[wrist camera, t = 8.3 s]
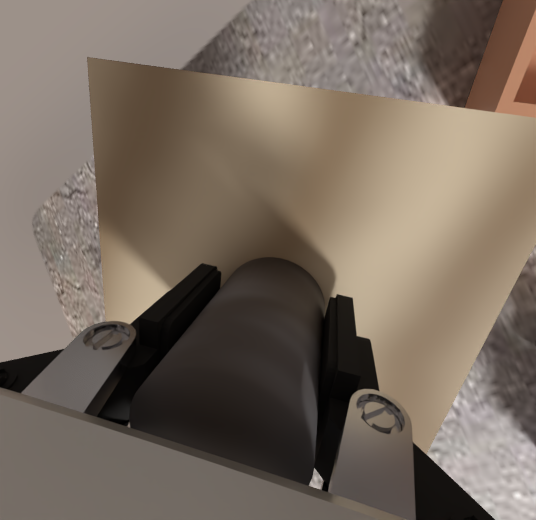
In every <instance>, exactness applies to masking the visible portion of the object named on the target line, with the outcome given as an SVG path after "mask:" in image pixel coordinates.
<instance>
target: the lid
mask: <svg viewBox="0 0 536 520" xmlns="http://www.w3.org/2000/svg"><path fill="white" fill-rule="evenodd" d="M87 62H88V76H89V90H90V103H91V118H92V133H93V147H94V161H95V176H96V190H97V204H98V218H99V233H100V247H101V261H102V276H103V290H104V304H105V318H106V322H107V321H121V322H125V323H128V324H131V323H132V322H133V321H134V320H135V319H136V318H138V317H139V316H140V315H141V314H142V313H143V312H145V311H146V310H147V309H148V308H149V307H150V306H152V305H153V304H154V303H155V302H156V301H157V300H159V299H160V298H161V297H162V296H163V295H164V294H165V293H167V292H168V291H170V290H171V289H172V288H174V287H175V286H176V285H177V284H178V283H179V282H181V281H182V280H183V279H184V278H185V277H186V276H187V275H189V274H190V273H191V272H192V271H193V270H194V269H196V268H197V267H198V266H199V265H200V264H202V263H204V264H208V265H212V266H217V270H218V271H221V285H220V289H219V291H218V292H217V293H216V294H215V296H214V297H213V298H212V299H211V301H210V302H209V303H208V304H207V305H206V307H205V308H204V309H203V310H202V312H201V313H200V314H199V315H198V316H197V318H196V319H195V320H194V321H193V323H192V324H191V325H190V326H189V327H188V329H187V330H186V331H185V332H184V334H183V335H182V336H181V337H180V338H179V340H178V341H177V342H176V343H175V345H174V346H173V347H172V348H171V349H170V351H169V352H168V353H167V354H166V356H165V357H164V358H163V359H162V360H161V362H160V363H159V364H158V365H157V367H156V368H155V369H154V370H153V372H152V373H151V374H150V375H149V376H148V378H147V379H146V380H145V381H144V383H143V384H142V385H141V386H140V387H139V389H138V390H137V392H136V393H135V395H134V397H133V399H132V402H131V406H130V413H129V421H130V428H132V429H136V430H139V431H142V432H145V433H148V434H151V435H154V436H157V437H160V438H163V439H167V440H170V441H173V442H176V443H179V444H182V445H185V446H188V447H191V448H194V449H198V450H201V451H204V452H207V453H210V454H213V455H216V456H219V457H222V458H225V459H228V460H231V461H235V462H238V463H241V464H244V465H247V466H250V467H253V468H256V469H259V470H262V471H265V472H268V473H271V474H274V475H277V476H280V477H283V478H286V479H289V480H292V481H295V482H298V483H301V484H304V485H307V486H308V485H309V483H310V481H311V479H312V476H313V471H314V463H315V448H316V434H317V419H318V400H319V386H320V372H321V358H322V344H323V329H324V318H325V314H326V310H327V306H328V302H329V299H330V297H334V298H336V295H337V294H339V295H343V296H347V297H352V298H353V305H354V314H355V323H356V333H357V336H360V337H364V338H368V339H370V341H371V345H372V351H373V356H374V362H375V368H376V373H377V379H378V385H379V390H380V392H383V393H385V394H387V395H389V396H391V397H392V398H393V399H395V400H396V401H397V402H399V403H400V404H401V405H402V407H403V408H404V409H405V410H406V412H407V413H408V415H409V417H410V419H411V423H412V436H413V442H414V443H415V444H416V445H417V446H418V447H419V448H420V449H421V450H422V451H423V452H424V453H425V454H427V452H428V450H429V448H430V446H431V444H432V442H433V440H434V438H435V436H436V434H437V433H438V431H439V429H440V427H441V425H442V423H443V421H444V419H445V417H446V415H447V413H448V411H449V409H450V408H451V406H452V404H453V402H454V400H455V398H456V396H457V394H458V392H459V390H460V388H461V386H462V384H463V383H464V381H465V379H466V377H467V375H468V373H469V371H470V369H471V367H472V365H473V363H474V361H475V360H476V358H477V356H478V354H479V352H480V350H481V348H482V346H483V344H484V342H485V340H486V338H487V336H488V335H489V333H490V331H491V329H492V327H493V325H494V323H495V321H496V319H497V317H498V315H499V313H500V312H501V310H502V308H503V306H504V304H505V302H506V300H507V298H508V296H509V294H510V292H511V290H512V288H513V287H514V285H515V283H516V281H517V279H518V277H519V275H520V273H521V271H522V269H523V267H524V265H525V264H526V262H527V260H528V258H529V256H530V254H531V252H532V250H533V248H534V246H535V244H536V118H534V117H526V116H519V115H512V114H504V113H497V112H489V111H482V110H475V109H467V108H460V107H452V106H445V105H437V104H430V103H423V102H415V101H408V100H400V99H393V98H386V97H378V96H371V95H363V94H356V93H349V92H341V91H334V90H326V89H319V88H312V87H304V86H297V85H289V84H282V83H275V82H267V81H260V80H252V79H245V78H238V77H230V76H223V75H215V74H208V73H201V72H193V71H186V70H178V69H170V68H164V67H156V66H149V65H141V64H134V63H126V62H119V61H112V60H103V59H97V58H89V57H87Z"/></svg>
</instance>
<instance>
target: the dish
mask: <svg viewBox="0 0 536 520" xmlns="http://www.w3.org/2000/svg"><path fill="white" fill-rule="evenodd" d="M465 108H467V109H475V110H482V111H489V112H497V113H504V114H512V115H519V116H526V117H534V118H536V0H503V2H502V4H501V7H500V10H499V13H498V16H497V18H496V21H495V24H494V27H493V30H492V32H491V35H490V38H489V41H488V44H487V46H486V49H485V52H484V55H483V58H482V60H481V63H480V66H479V69H478V72H477V74H476V77H475V80H474V83H473V85H472V88H471V91H470V94H469V97H468V99H467V102H466V105H465Z"/></svg>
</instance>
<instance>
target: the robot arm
mask: <svg viewBox="0 0 536 520" xmlns="http://www.w3.org/2000/svg"><path fill="white" fill-rule="evenodd" d="M220 285H221V271H218V270H217V266H212V265H208V264H204V263H202V264H200V265H199V266H198V267H197V268H196V269H194V270H193V271H192V272H191V273H190V274H189V275H187V276H186V277H185V278H184V279H183V280H182V281H181V282H179V283H178V284H177V285H176V286H175V287H174V288H172V289H171V290H170V291H168V292H167V293H165V294H164V295H163V296H162V297H161V298H160V299H159V300H157V301H156V302H155V303H154V304H153V305H152V306H150V307H149V308H148V309H147V310H146V311H145V312H143V313H142V314H141V315H140V316H139V317H138V318H136V319H135V320H134V321H133V322H132V323H131V324H128V323H125V322H121V321H107V322H101V323H98V324H94V325H92V326H90V327H88V328H86V329H85V330H84V331H82V332H81V333H80V334H79V335H78V336H77V337H76V338H75V339H74V340H73V341H72V342H71V343H70V344H69V345H68V346H67V347H66V348H65V349H62V350H57V351H53V352H48V353H43V354H39V355H34V356H29V357H24V358H20V359H15V360H10V361H6V362H1V363H0V520H495V519H494V518H493V517H492V516H491V515H490V514H489V513H487V512H486V511H485V510H484V509H483V508H482V507H481V506H480V505H479V504H478V503H477V502H476V501H475V500H474V499H473V498H472V497H471V496H470V495H468V494H467V493H466V492H465V491H464V490H463V489H462V488H461V487H460V486H459V485H458V484H457V483H456V482H455V481H454V480H453V479H452V478H451V477H449V476H448V475H447V474H446V473H445V472H444V471H443V470H442V469H441V468H440V467H439V466H438V465H437V464H436V463H435V462H434V461H433V460H432V459H430V458H429V457H428V456H427V455H426V454H425V453H424V452H423V451H422V450H421V449H420V448H419V447H418V446H417V445H416V444H415V443H414V442H413V436H412V423H411V419H410V417H409V415H408V413H407V412H406V410H405V409H404V408H403V407H402V405H401V404H400V403H399V402H397V401H396V400H395V399H393V398H392V397H391V396H389V395H387V394H385V393H383V392H380V390H379V385H378V379H377V373H376V368H375V362H374V356H373V351H372V345H371V341H370V339H368V338H364V337H360V336H357V333H356V323H355V314H354V305H353V298H352V297H347V296H343V295H339V294H337V295H336V298H334V297H330V299H329V302H328V306H327V310H326V314H325V318H324V329H323V344H322V358H321V372H320V386H319V400H318V419H317V434H316V448H315V463H314V468H315V469H316V470H317V472H318V473H319V474H320V476H321V477H322V479H323V481H322V484H321V489H316V488H313V487H310V486H307V485H304V484H301V483H298V482H295V481H292V480H289V479H286V478H283V477H280V476H277V475H274V474H271V473H268V472H265V471H262V470H259V469H256V468H253V467H250V466H247V465H244V464H241V463H238V462H235V461H231V460H228V459H225V458H222V457H219V456H216V455H213V454H210V453H207V452H204V451H201V450H198V449H194V448H191V447H188V446H185V445H182V444H179V443H176V442H173V441H170V440H167V439H163V438H160V437H157V436H154V435H151V434H148V433H145V432H142V431H139V430H136V429H132V428H130V421H129V413H130V406H131V402H132V399H133V397H134V395H135V393H136V392H137V390H138V389H139V387H140V386H141V385H142V384H143V383H144V381H145V380H146V379H147V378H148V376H149V375H150V374H151V373H152V372H153V370H154V369H155V368H156V367H157V365H158V364H159V363H160V362H161V360H162V359H163V358H164V357H165V356H166V354H167V353H168V352H169V351H170V349H171V348H172V347H173V346H174V345H175V343H176V342H177V341H178V340H179V338H180V337H181V336H182V335H183V334H184V332H185V331H186V330H187V329H188V327H189V326H190V325H191V324H192V323H193V321H194V320H195V319H196V318H197V316H198V315H199V314H200V313H201V312H202V310H203V309H204V308H205V307H206V305H207V304H208V303H209V302H210V301H211V299H212V298H213V297H214V296H215V294H216V293H217V292H218V291H219V289H220Z"/></svg>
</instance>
